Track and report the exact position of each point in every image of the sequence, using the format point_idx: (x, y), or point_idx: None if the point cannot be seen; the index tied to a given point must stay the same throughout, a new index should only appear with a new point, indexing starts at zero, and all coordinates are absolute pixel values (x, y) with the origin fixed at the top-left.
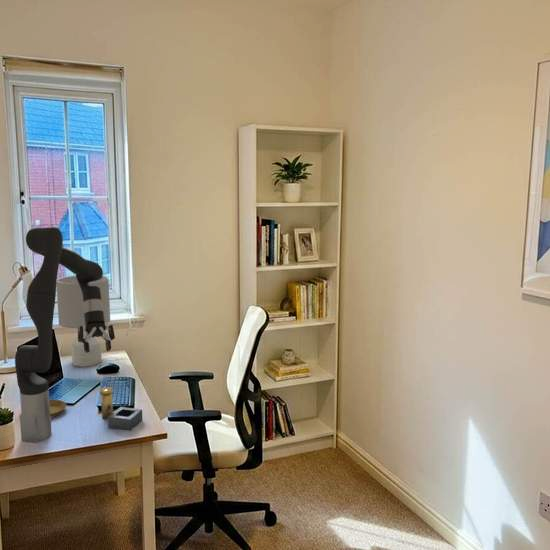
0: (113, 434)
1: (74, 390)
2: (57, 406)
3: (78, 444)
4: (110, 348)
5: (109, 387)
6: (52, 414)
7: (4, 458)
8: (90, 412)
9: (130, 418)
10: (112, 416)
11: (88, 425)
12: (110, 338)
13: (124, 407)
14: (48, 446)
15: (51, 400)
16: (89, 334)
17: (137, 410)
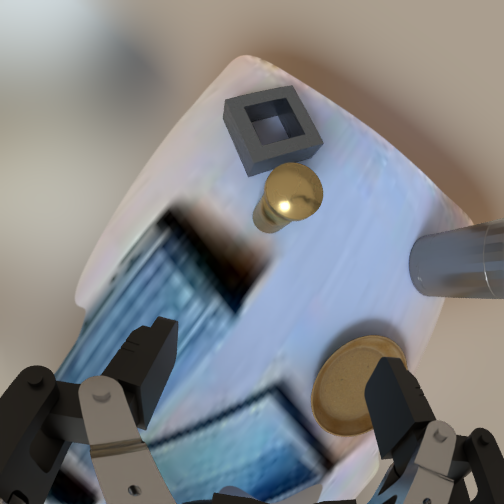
0: (321, 124)
1: (211, 468)
2: (319, 400)
3: (393, 156)
4: (145, 329)
5: (270, 200)
6: (376, 336)
7: None
8: (282, 290)
9: (287, 87)
10: (314, 132)
11: (336, 215)
12: (80, 393)
13: (248, 150)
14: (432, 203)
15: (324, 427)
16: (444, 493)
17: (238, 104)
